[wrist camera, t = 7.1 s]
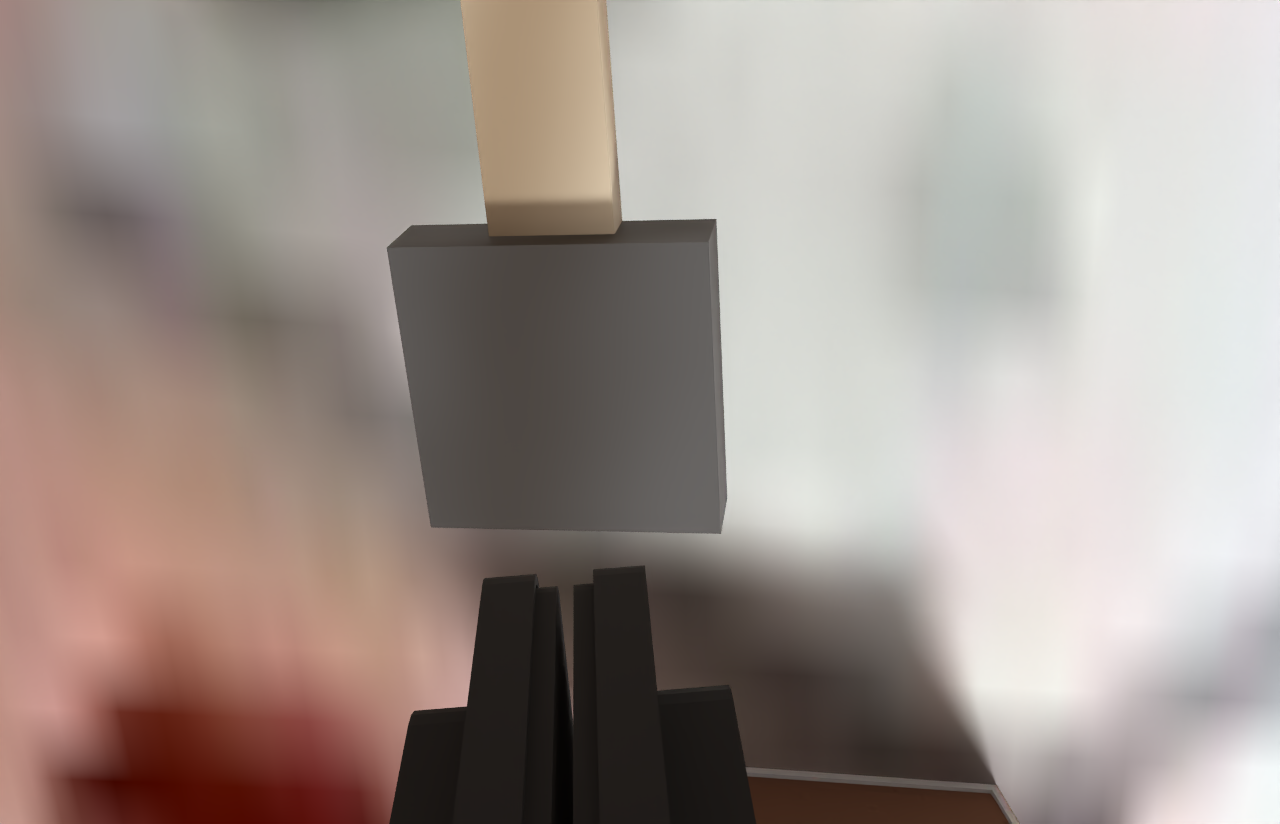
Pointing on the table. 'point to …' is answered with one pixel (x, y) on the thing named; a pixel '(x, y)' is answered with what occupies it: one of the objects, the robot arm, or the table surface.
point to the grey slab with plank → (560, 309)
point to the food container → (871, 799)
